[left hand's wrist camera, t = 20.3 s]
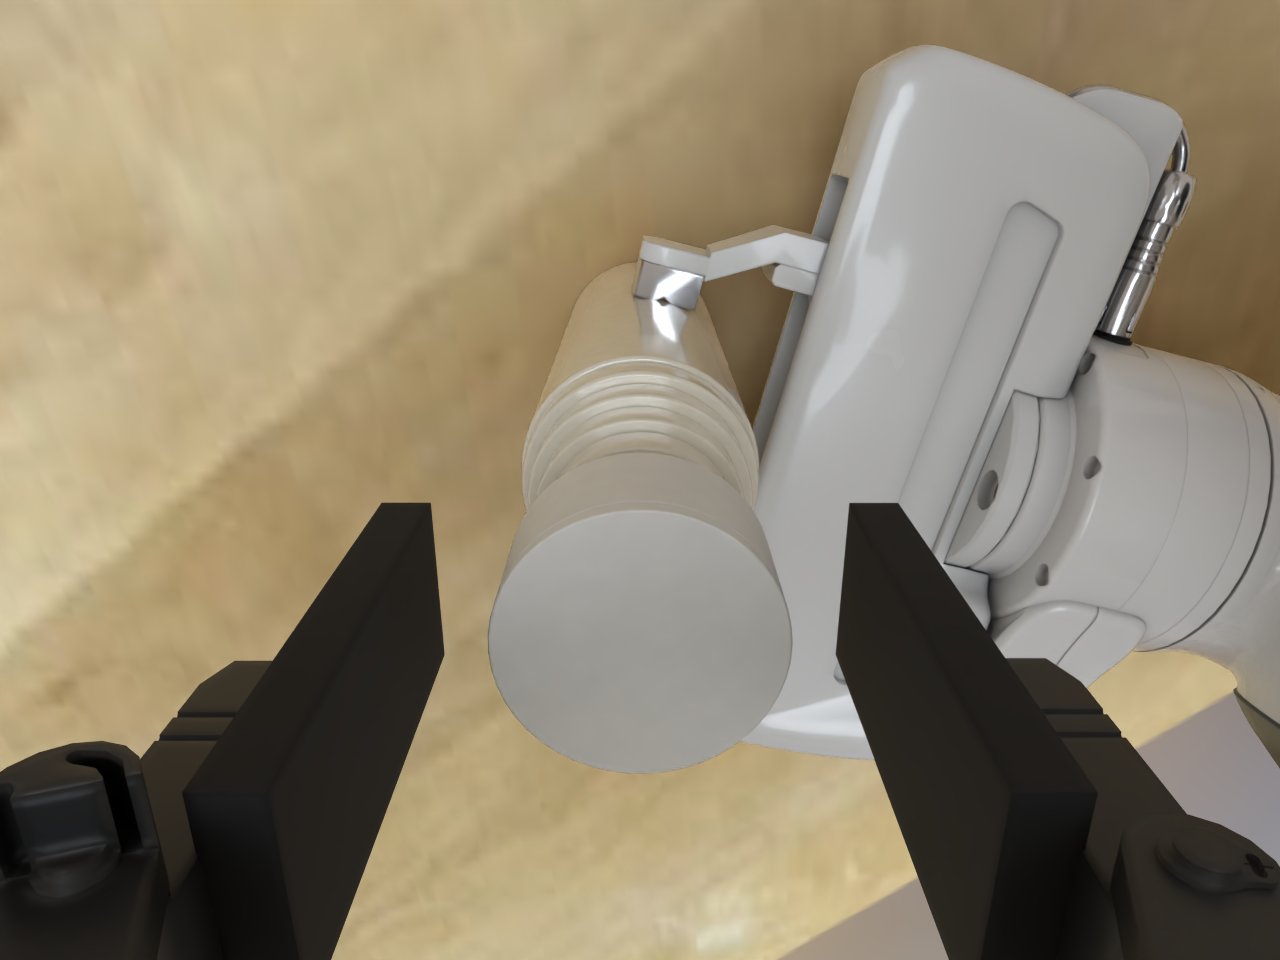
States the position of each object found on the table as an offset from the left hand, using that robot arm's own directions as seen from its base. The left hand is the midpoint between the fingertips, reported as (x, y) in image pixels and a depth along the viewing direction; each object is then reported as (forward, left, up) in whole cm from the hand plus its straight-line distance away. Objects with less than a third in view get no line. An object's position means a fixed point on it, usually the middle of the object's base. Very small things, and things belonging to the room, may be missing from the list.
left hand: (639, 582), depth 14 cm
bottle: (0, 0, -19) cm, 19 cm away
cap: (0, 0, +2) cm, 2 cm away
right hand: (+1, +1, -12) cm, 12 cm away
